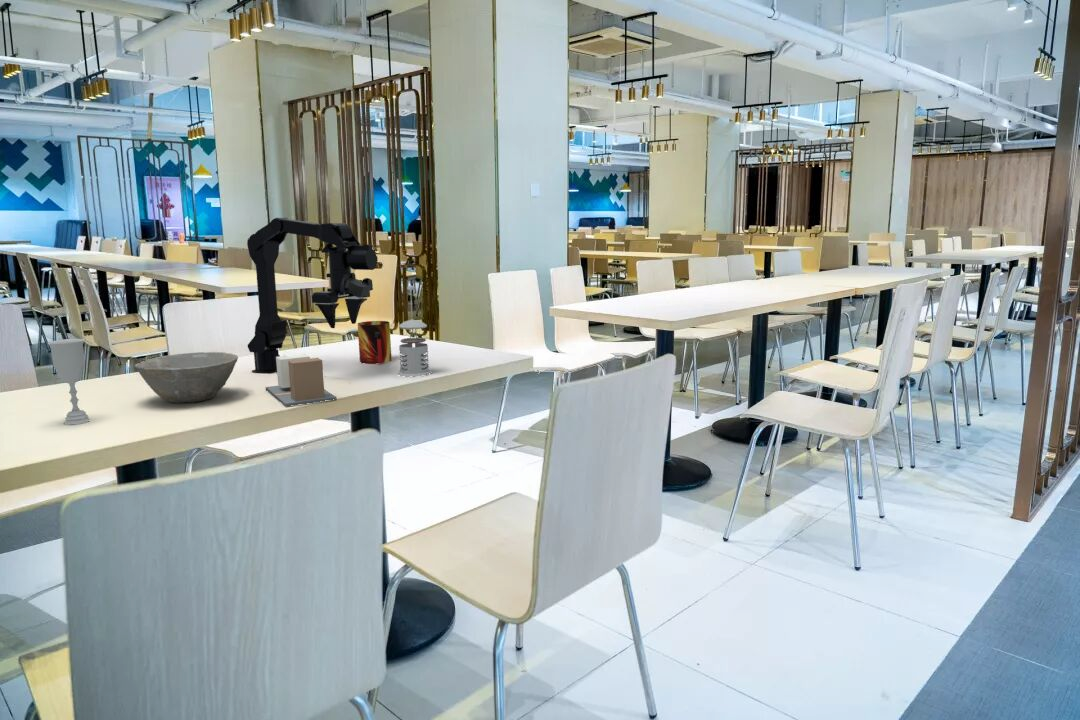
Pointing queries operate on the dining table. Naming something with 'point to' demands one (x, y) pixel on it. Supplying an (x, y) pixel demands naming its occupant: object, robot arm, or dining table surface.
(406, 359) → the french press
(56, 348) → the chalice
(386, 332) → the mug
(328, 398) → the rod stand
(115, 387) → the dining table surface
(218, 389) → the ceramic bowl
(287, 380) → the sleeve
